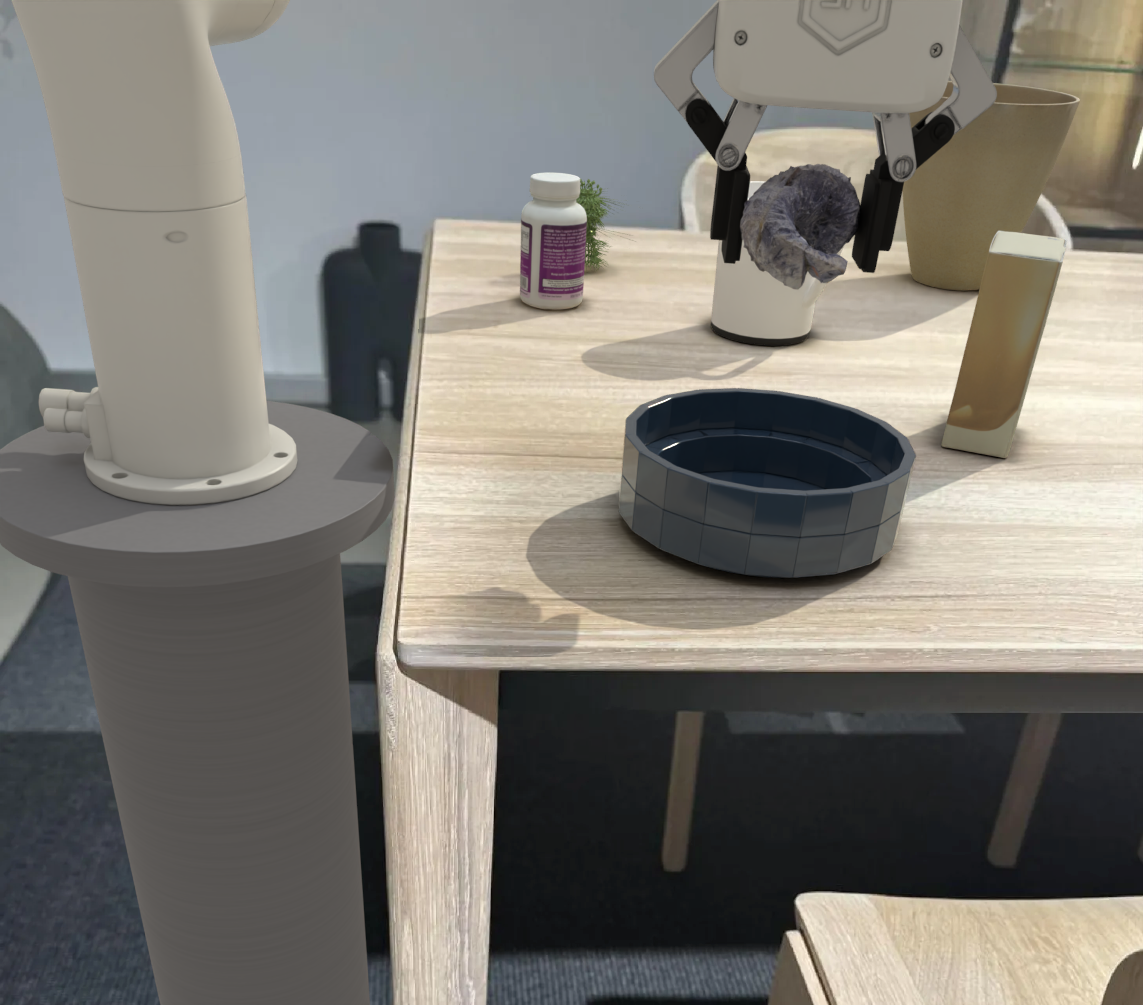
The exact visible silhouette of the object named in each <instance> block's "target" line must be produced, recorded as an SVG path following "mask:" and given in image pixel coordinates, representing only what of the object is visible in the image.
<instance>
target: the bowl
mask: <svg viewBox="0 0 1143 1005" xmlns="http://www.w3.org/2000/svg"><path fill="white" fill-rule="evenodd" d="M916 459H917V454H916V452H915V450H914V448H913V446H912V444H911V442H910V440H909V438H908V437H907V436H906V435H904V433H902V432H900V431H899V430H898V429H896V428H895V427H894V426H892V425H891V424H890V423H889V422H887V421H886V420H883V419H881V418H878V417H876V416H874V415H872V414H869V413H868V412H865V411H863V410H861V409H858V408H856V407H852V406H848V405H846V404H842V403H838V402H836V401H831V400H827V399H824V398H820V397H816V396H811V395H805V394H800V393H799V394H798V393H795V392H794V393H793V392H788V391H781V390H774V389H773V390H771V389H760V388H759V389H757V388H744V387H743V388H742V387H726V388H725V387H724V388H701V389H700V388H699V389H693V390H688V391H687V390H686V391H680V392H675V393H670V394H665V395H662V396H659V397H657V398H654V399H652V400H649V401H647V402H644V403H642V404H640V405H638V406H637V407H636V408H635V409H634V410H633V411H632V412H631V413H630V414H628V416H627V417H626V418H625V422H624V434H623V446H622V459H621V471H620V483H619V494H618V496H619V498H618V513H619V515H620V516H621V517H622V519H623V520H624V522H625V523H626V525H627V526H628V528H629V529H630V530H631V531H632V532H633V533H635V534H636V535H637V536H639V537H641V538H642V539H643V540H645V541H647V543H650V544H651V545H652V546H654V547H655V548H657V549H659V550H661V551H663V552H666V553H669V554H670V555H673V556H676V557H678V558H681V559H683V560H686V561H688V562H691V563H693V564H696V565H699V566H702V567H706V568H709V569H713V570H716V571H720V572H725V573H730V574H736V575H743V576H748V577H759V578H775V579H795V578H808V577H809V578H810V577H816V576H817V577H819V576H831V575H836V574H837V575H838V574H841V573H845V572H848V571H851V570H855V569H859V568H861V567H866V566H869V565H872V564H874V563H875V562H876V561H878V560H879V559H881V558H882V557H884V556H885V555H886V554H888V553H890V552H891V551H892V550H893V548H894V545H895V542H896V539H897V538H898V534H899V531H900V528H901V523H902V518H903V514H904V510H905V506H906V501H907V496H908V493H909V488H910V484H911V480H912V477H913V476H912V475H913V471H914V467H915V463H916Z"/></svg>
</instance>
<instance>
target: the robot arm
mask: <svg viewBox="0 0 1143 1005" xmlns="http://www.w3.org/2000/svg"><path fill="white" fill-rule="evenodd" d="M963 1H964V0H716V1H715V2H714V3H713V4H712V5H711V6H710V7H709V8H708V9H707V10H706V11H705V13H703V14H702V15H701V16H700V18H698V20H697V21H696V22H695V23H694V24H693V25H692V26H691V27H690V28H689V30H687V31H686V33H684V34H683V36H682V37H681V38H680V39H679V40H678V41H677V42H676V43H675V44H674V45H673V46H672V47H671V48H670V49H669V51H668V52H666V54H664V56H663V57H662V58H661V59H660V60H659V61H658V62H657V63H656V64H655V66H654V69H653V80H654V82H655V84H656V87H658V88H659V89H660V91H661V92H662V93H663V95H664V96H665V97H666V98H667V100H668V101H669V102H670V104H671V105H672V106H673V107H674V108H675V110H676V111H677V112H678V113H679V114H680V116H681V117H682V118H683V119H684V120H685V122H686V124H687V125H688V127H689V128H690V129H691V130H692V132H693V133H694V135H695V136H696V137H697V139H698V140H699V141H700V142H701V144H702V145H703V147H704V149H706V151H707V152H708V153H709V155H710V156H711V158H713V160H714V161H715V163H716V165H717V166H716V167H717V168H716V174H715V175H716V176H715V183H714V185H715V186H714V192H713V193H714V195H713V203H712V211H711V219H710V229H709V231H710V232H709V238H710V240H711V241H719V240H722V248H721V251H722V255H723V260H724V263H731V264H735V262H736V261H740V255H741V248H742V240H743V239H742V232H741V229H740V223H741V219H742V217H743V211H744V208H745V205H744V204H745V202H746V201H748V193H749V185H750V181H751V173H750V170H749V167H748V166H747V163H748V155H747V153H746V152H747V149H748V147H749V145H750V143H751V141H752V139H753V137H754V134H755V133H756V130H757V129H758V126H759V124H760V123H761V120H762V118H763V116H764V114H765V111H766V109H767V108H768V106H771V107H772V106H773V107H783V108H784V107H785V108H798V109H813V110H831V111H845V112H861V113H862V112H863V113H871V114H872V121H873V127H874V133H875V139H876V145H877V153H878V156H877V157H876V158H875V159H874V165H873V169H870V170H869V173H866V174H865V177H864V180H863V181H864V182H863V186H862V194H861V199H860V207H861V212H860V220H859V226H858V228H857V230H856V233H855V235H854V236H853V237H854V238H853V244H852V249H851V258H852V260H853V261H854V263H855V265H856V267H857V268H858V269H859V270H861V272H862V273H868V274H869V273H870V274H875V273H876V269H877V265H878V260H879V254H880V252H890V250H891V249H892V246H893V240H894V237H895V231H896V225H897V221H898V216H899V211H900V205H901V201H902V197H903V186H904V182H905V181H907V180H909V179H910V178H911V177H912V176H913V175H914V173H915V170H916V169H917V168H918V167H920V166H921V165H922V164H923V163H924V162H926V161H927V160H928V159H929V158H930V157H931V156H933V155H934V154H935V153H936V152H937V151H938V150H940V149H941V148H942V147H943V146H944V145H946V144H947V143H948V142H949V141H950V140H951V139H952V137H953V135H955V134H956V133H957V132H958V131H960V130H961V129H963V128H965V127H966V126H967V125H968V124H969V123H971V122H972V121H973V120H974V119H976V118H977V117H978V116H979V115H981V114H982V113H983V112H984V111H986V110H987V109H988V108H989V107H991V106H992V104H993V103H994V102H995V100H996V98H997V91H996V88H995V86H994V84H993V83H994V82H993V81H992V79H991V77H990V75H989V74H988V72H987V70H986V68H985V66H984V65H983V63H982V61H981V60H980V58H979V56H978V54H977V53H976V51H975V49H974V47H973V46H972V44H971V43H970V41H969V39H968V37H967V35H966V34H965V32H964V30H963V28H962V26H961V24H960V23H961V22H960V21H961V14H962V7H963ZM290 2H291V0H11V3H12V6H13V9H14V11H15V14H16V18H17V21H18V23H19V25H20V28H21V31H22V33H23V34H22V35H23V37H24V39H25V42H26V44H27V45H26V46H27V48H28V51H29V54H30V57H31V60H32V63H33V66H34V69H35V73H36V76H37V80H38V85H39V88H40V91H41V96H42V99H43V103H44V107H45V108H44V109H45V112H46V115H47V120H48V125H49V129H50V135H51V140H52V145H53V150H54V154H55V160H56V164H57V165H56V166H57V170H58V177H59V182H60V187H61V193H62V196H63V200H64V207H65V212H66V218H67V222H68V228H69V233H70V239H71V246H72V250H73V255H74V262H75V266H76V272H77V278H78V284H79V289H80V295H81V300H82V305H83V312H84V316H85V321H86V327H87V333H88V339H89V344H90V349H91V355H92V360H93V361H92V362H93V366H94V367H93V368H94V372H95V378H96V382H97V386H94V387H93V388H91V390H90V392H85V391H82V392H81V391H75V390H74V389H66V388H65V389H64V388H51V387H45V388H42V389H41V390H40V392H39V395H38V409H39V413H40V415H41V417H42V419H43V426H45V429H46V430H47V431H48V432H62V433H70V432H78V433H84V435H85V437H87V438H91V443H90V444H89V446H88V447H87V449H86V451H85V452H84V464H85V468H86V473H87V477H88V478H89V479H90V481H91V482H92V483H93V484H94V485H96V486H97V487H98V488H100V489H101V490H103V491H105V492H107V493H109V494H112V495H114V496H116V497H120V498H123V499H127V500H131V501H135V502H142V503H148V504H158V505H202V504H214V503H220V502H226V501H232V500H237V499H241V498H245V497H249V496H252V495H255V494H258V493H261V492H264V491H266V490H268V489H270V488H272V487H274V486H276V485H278V484H280V483H281V482H283V481H284V480H285V479H287V478H288V477H289V476H290V475H291V474H292V472H293V471H294V470H295V468H296V465H297V461H298V460H297V451H296V444H295V442H294V440H293V439H292V437H290V436H289V435H288V434H287V433H286V432H285V431H283V430H281V429H280V428H278V427H276V426H274V425H271V424H269V423H268V413H267V403H266V400H267V393H266V384H265V372H264V364H263V363H264V362H263V354H262V343H261V342H262V341H261V332H260V324H259V322H260V321H259V312H258V302H257V301H258V300H257V293H256V292H257V291H256V290H257V289H256V282H255V272H254V270H255V269H254V262H253V261H254V260H253V253H252V252H253V251H252V242H251V241H252V239H251V230H250V229H251V228H250V219H249V210H248V200H247V193H246V184H245V174H244V173H245V172H244V166H243V158H242V157H243V156H242V150H241V144H240V140H239V133H238V129H237V125H236V121H235V118H234V115H233V111H232V108H231V104H230V101H229V98H228V95H227V92H226V89H225V86H224V84H223V82H222V79H221V77H220V74H219V71H218V68H217V65H216V63H215V59H214V56H213V53H212V50H211V47H215V46H222V45H229V44H235V43H240V42H244V41H246V40H249V39H253V38H256V37H257V36H259V35H261V34H263V33H265V32H266V31H268V30H269V29H270V28H271V27H272V26H274V24H276V22H277V21H278V20H279V19H280V18H281V17H282V16H283V14H284V13H285V11H286V9H287V7H288V6H289V3H290ZM711 52H712V66H713V67H712V68H713V73H714V76H715V80H716V82H717V84H718V86H719V87H720V89H721V90H722V91H723V92H725V94H727V95H728V96H730V97H731V98H732V101H731V102H730V105H729V106H728V109H727V112H726V114H725V116H724V118H723V119H722V118H721V116H720V115H719V114H718V113H717V110H716V109H715V108H714V107H713V106H712V104H711V102H710V101H709V100H708V99H707V97H705V96H704V94H703V93H702V92H701V90H700V89H699V88H698V86H697V85H696V83H695V82H694V80H693V74H694V71H695V69H696V68H697V67H698V66H699V65H700V64H701V63H702V62H703V61H704V60H705V58H707V57H708V56H709V54H711ZM949 79H950V80H949ZM948 81H952V83H953V92H952V94H951V96H950V97H949V98H948V99H947V100H946V101H945V102H943V104H942V105H941V106H940V107H939V108H937V109H936V110H935V111H933V112H930V113H929V114H927V115H926V116H925V117H924V118H923V119H921V120H920V121H919V122H918V123H917V124H916V125H915V126H913V127H912V128H911V122H910V115H909V113H913V112H918V111H921V110H924V109H927V108H929V107H931V106H933V105H934V104H936V103H937V102H938V101H939V100H940V99H941V98H942V96H943V94H944V92H945V89H946V86H947V83H948Z"/></svg>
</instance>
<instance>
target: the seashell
mask: <svg viewBox="0 0 1143 1005" xmlns="http://www.w3.org/2000/svg"><path fill="white" fill-rule="evenodd" d="M765 181H766V182H765V183H763V184H762V185H761V187H760V188H759V189H758V190H757V191H755V192H754V194H753V196H751V197H750V198H749V200H748V201H746V202H745V204H744V205H745V208H744V211H743V217H742V219H741V223H740V229H741V232H742V239H743V241H744V248H746V249H747V251H748V254H749V255H750V257H751V261H753V262H755V264H756V266H757V267H758V269H759V270H760V271H762V272H764V271H767V272H768V273H769V274H770V275H771V276H772V277H774V278H775V279H777V280H778V281H780V282H782V283H783V284H784V285H785V286H788V287H790V288H792V289H797V290H798V289H799V288H800V287H802V285H803V283H804V281H805V277H806V274H807V272H809V274H810V275H811V276H812V277H814V278H816V279H818V280H819V281H820V282H821V283H822V282H823V283H826V284H828V283H830V282H832V281H833V280H835V279H837V278H838V277H839V276H844V274H845V273H846V271H847V266H848V262H849V261H848V260H847V259H846V258H844V256H841V254H840V255H837V253H838V252H839V251H840V250H841V249H842V248H843V246H844V245H845V246H846V244H849V243H850V242H851V240H852V239H853V237H855V233H856V230H857V228H858V226H859V220H860V212H861V207H860V204H861V201H860V199H859V197H858V193H857V189H856V187H855V186H854V185H853V183H852V177H851V176H849V177H848V175H846V174H845V173H843V172H841V169H840V168H835V167H832V166H830V165H828V164H824V163H816V164H812V163H807V164H804V165H803V164H802V165H797V166H792V165H790V167H789V168H788V169H786V170H784V171H780V172H779V173H778V174H774V175H772V177H770V178H768V179H767V180H765ZM845 246H844V247H845ZM843 249H844V248H843Z"/></svg>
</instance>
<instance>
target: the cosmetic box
mask: <svg viewBox="0 0 1143 1005" xmlns="http://www.w3.org/2000/svg"><path fill="white" fill-rule="evenodd" d="M1067 243H1068V240H1067V239H1066V238H1063V237H1062V238H1061V237H1056V236H1050V235H1049V236H1048V235H1039V234H1032V233H1024V232H1021V233H1018V232H1005V231H998V232H997V233H996V234H995V236H994V238H993V240H992V243H991V246H990V249H989V253H988V257H987V261H986V265H985V269H984V273H983V277H982V281H981V286H980V289H979V290H978V294H977V299H976V302H975V306H974V310H973V315H972V318H971V323H970V328H969V331H968V336H967V339H966V344H965V347H964V351H963V355H962V360H961V363H960V367H959V372H958V376H957V380H956V384H955V388H954V392H953V395H952V400H951V403H950V408H949V411H948V415H947V420H946V423H945V428H944V432H943V436H942V440H941V447H942V448H948V449H953V450H959V451H965V452H970V453H975V454H981V455H987V456H992V457H998V458H1002V459H1007V458H1008V457H1009V454H1010V451H1011V449H1012V444H1013V441H1014V438H1015V433H1016V430H1017V428H1018V423H1019V420H1020V416H1021V412H1022V409H1023V406H1024V402H1025V399H1026V395H1027V391H1028V389H1029V384H1030V381H1031V378H1032V373H1033V371H1034V366H1035V364H1036V363H1035V362H1036V360H1037V356H1038V352H1039V348H1040V346H1041V342H1042V338H1043V335H1044V331H1045V328H1046V324H1047V320H1048V316H1049V315H1050V314H1049V313H1050V310H1051V307H1052V303H1053V300H1054V296H1055V292H1056V288H1057V284H1058V281H1059V278H1060V273H1061V270H1062V266H1063V262H1064V258H1065V254H1066V249H1067Z"/></svg>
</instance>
